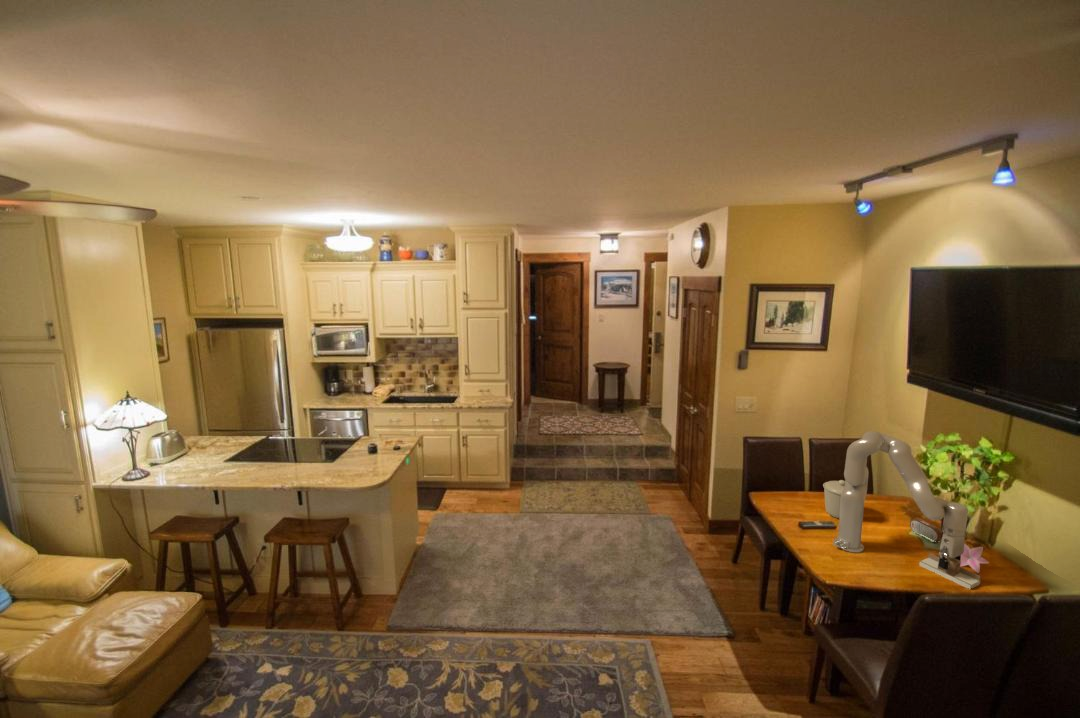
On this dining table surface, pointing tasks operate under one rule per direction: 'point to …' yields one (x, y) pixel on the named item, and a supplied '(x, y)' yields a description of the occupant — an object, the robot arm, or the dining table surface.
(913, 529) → the tin
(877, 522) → the dining table surface
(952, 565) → the crate
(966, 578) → the bar
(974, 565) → the lily
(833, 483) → the canister
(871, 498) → the dining table surface
